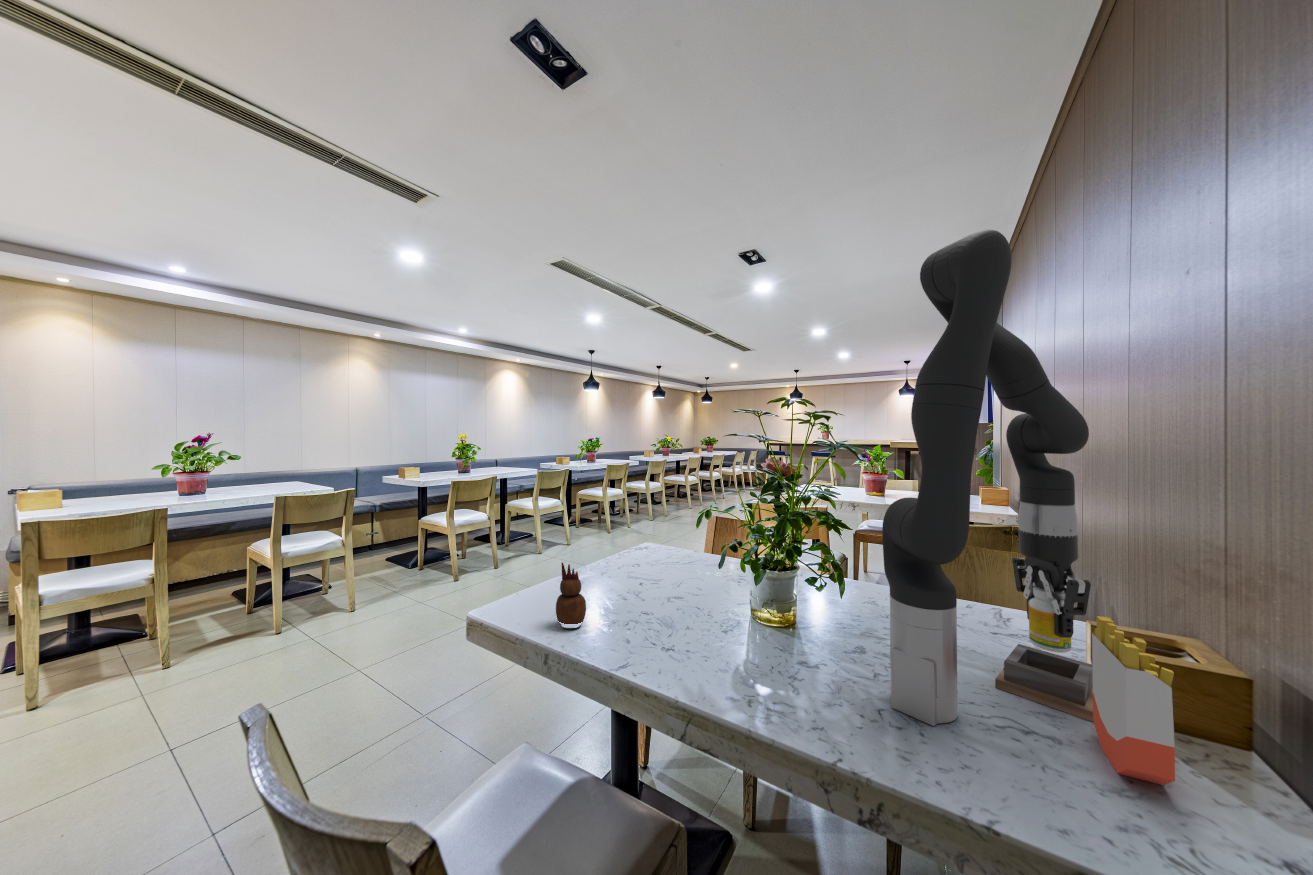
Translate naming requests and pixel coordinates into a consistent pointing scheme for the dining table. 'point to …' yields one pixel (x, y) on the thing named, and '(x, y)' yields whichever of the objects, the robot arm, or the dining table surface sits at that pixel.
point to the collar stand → (1049, 680)
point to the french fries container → (1132, 706)
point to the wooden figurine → (570, 599)
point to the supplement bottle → (1045, 623)
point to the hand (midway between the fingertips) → (1048, 627)
